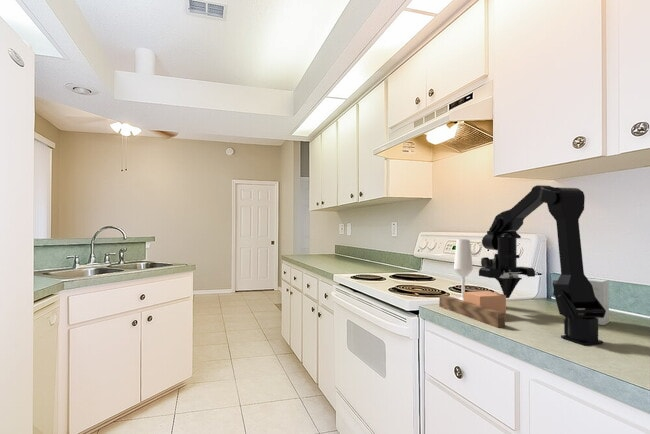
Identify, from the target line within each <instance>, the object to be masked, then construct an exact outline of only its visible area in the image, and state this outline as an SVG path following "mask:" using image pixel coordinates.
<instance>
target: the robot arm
mask: <svg viewBox="0 0 650 434" xmlns="http://www.w3.org/2000/svg"><path fill="white" fill-rule="evenodd" d="M585 198H586V197H585V193H584V191H582V189H580V188H578V187H555V186H550V185H542V184H541V185H540V184H537V185H534V186H533V187H532V188H531V190H530V191H529V192H527V194H526V195H525V196H524V197H522V198H521V200H519V201H518V202H517V203H516V204H515V205H514V206H512V207H511V208H510V209H508V210H503V211H502V212H500V213H498V214H497V215H496V216H495V217H494V219H493V221H492V224H491V226H490V227H489V229H488V230H487V231H486V234H485V235H484V236H483V237H482V239H481V244H482V246H483V248H484V249H486V250H492V251H497V253H494V255H493V258H489V257H482V258H481V259H480V265H481V267H480V268H479V269H478V276H479V277H484V278H489V279H495V280H496V281H497V282H498V283H499V285H500V288H501V290H502V294H503V295H506V299H509V298H510V297H511V295H512V294H513V292H514V290H515V288H516V287H517V285H518V283H520V281H521V280H523V278H522V277H519V275H523V276H527V278H529V277H531V278H532V277H533V278H534V277H536V270H535V269H534V268H533V267H528V266H517V259H520V254H517V253H518V252H517V242H518V241H517V239H521V238H522V237H521V235H520V234H518V232H517V231H519V230H520V229H521V227H522V226H523V225H524V220H525V219H526V218H527V217H528V216H529V215H530V214H532V213H533V212H534V211H535V210H537V209H538V208H539V207H540V206H541V205H543V204H544V203H545V204H546V205H547V209H548V212H549V214H550V215H551V216H552V217H553V219H554V221H555V222H556V223H555V224H556V231H557V240H558V241H557V242H558V244H557V245H558V254H559V263H560V265H559V266H560V275H559V277H558V279H557V280H555V279H554V280H553V281H552V286H553V294H552V296H554V298H555V302H556V306H557V309H558V313H559V315H561V316H563V317H565V318H564V320H563V321H564V322H563V323H564V324H563V326H564V327H563V329H564V330H563V332H564V333H563V334H564V335H563V334H562V335H560V338H562V339H564V340H568V341H571V342H574V343H577V344H580V345H584V346H587V345H597V344H603V343H604V341H603V340H601V339H599V324H598V318H604V316H605V313H606V310H605V309H604V307H603V306H602V305H601V303H600V302H599V301H598V300H597V298H596V297H595V295H594V291H593V287H592V284H591V283H590V281H589V280H588V279H587V278H588V277H587V276H586V274H585V273H584V272H585V270H584V262H583V252H582V242H581V241H582V240H581V233H580V222H579V221H580V220H579V219H580V218H581V215H582V214H583V212H584V211H585ZM577 309H579V310H577Z"/></svg>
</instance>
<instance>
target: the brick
mask: <svg viewBox="0 0 650 434" xmlns="http://www.w3.org/2000/svg"><path fill="white" fill-rule="evenodd" d="M463 301H466V302H470V303H473V304H476V305H479V306H483V307H486V308H489V309H493V310H496V311H499V312H502V313H505V318H506V317H507V298H506V295H504V294H503V293H499V292H494V291H489V290H483V291H482V290H481V291H465V292H463Z"/></svg>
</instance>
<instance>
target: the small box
mask: <svg viewBox="0 0 650 434" xmlns="http://www.w3.org/2000/svg"><path fill="white" fill-rule="evenodd" d="M586 278H587V279H588V280H589V281H590V283H591V284H592V287H593V291H594V295H595V297H596V298H597V300H598V301H599V302H600V303H601V305H602V306H603V307H604V309H605V310H606V313H605V316H604V318H598V326H600V325H601V326H604V325H607V324H608V323H609V322H610V302H609V301H610V297H609V293H610V292H609V291H610V290H609V280H608V279H601V278H600V279H599V278H589V277H586ZM577 310H579V309H577Z"/></svg>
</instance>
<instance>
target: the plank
mask: <svg viewBox="0 0 650 434" xmlns="http://www.w3.org/2000/svg"><path fill="white" fill-rule="evenodd" d="M438 301H439V307H440V308H443V309H445V310H448V311H450V312H454V313H455V314H460V315H462V316H465V317H468V318H470V319H473V320H476V321H478V322H481V323H484V324H486V325H490V326H492V327H495V328H498V329H499V328H500V329H502V328H505V327H506V317H505V313H502V312H499V311H496V310H493V309H489V308H486V307H483V306H479V305H476V304H473V303H470V302H466V301H463V300H460V299H459V298H456V297H454V296H449V295H446V294H440V295H439V300H438Z"/></svg>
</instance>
